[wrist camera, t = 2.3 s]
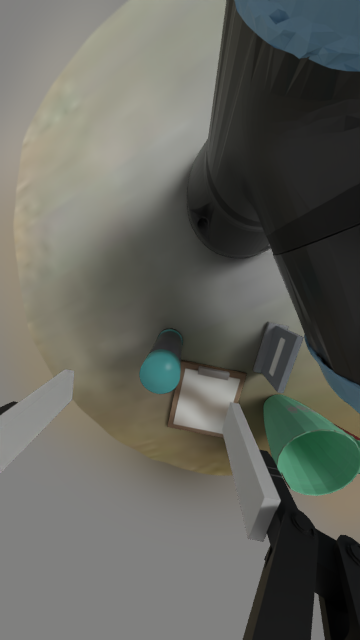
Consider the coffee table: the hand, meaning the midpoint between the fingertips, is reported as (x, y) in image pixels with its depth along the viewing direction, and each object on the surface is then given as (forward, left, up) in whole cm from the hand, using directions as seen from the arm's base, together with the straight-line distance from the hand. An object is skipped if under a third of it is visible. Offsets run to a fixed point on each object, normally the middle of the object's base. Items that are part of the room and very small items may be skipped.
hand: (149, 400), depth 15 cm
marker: (0, 0, -15) cm, 15 cm away
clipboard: (+9, +8, -15) cm, 19 cm away
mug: (+8, +23, -15) cm, 29 cm away
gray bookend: (-2, +16, -15) cm, 22 cm away
